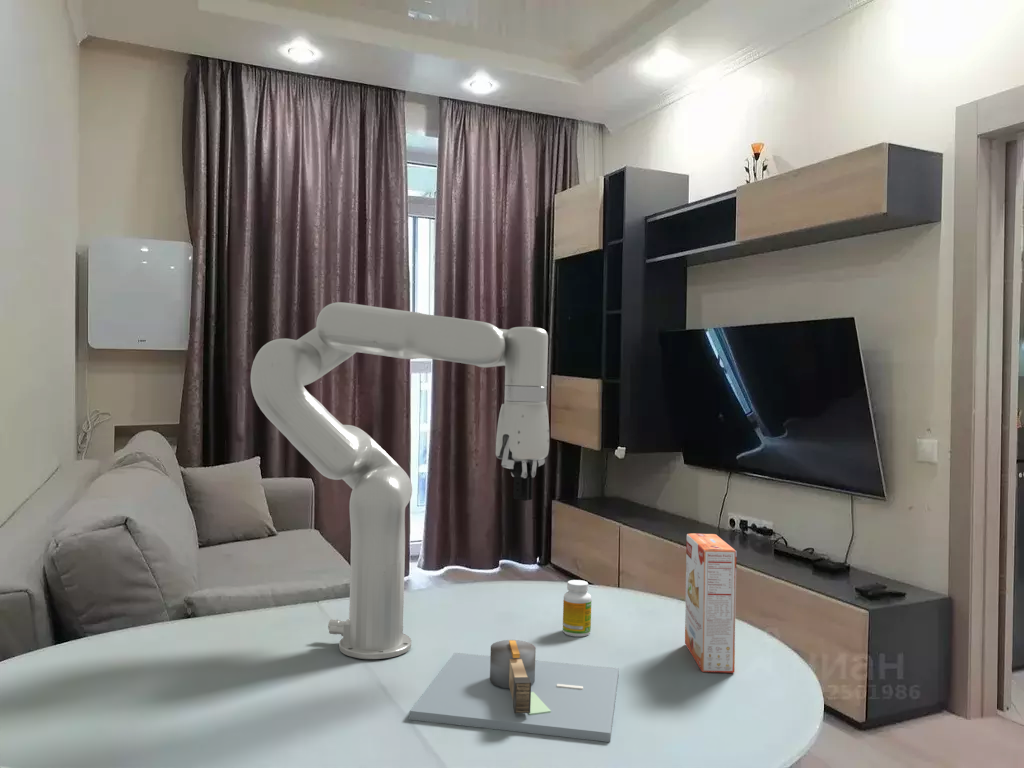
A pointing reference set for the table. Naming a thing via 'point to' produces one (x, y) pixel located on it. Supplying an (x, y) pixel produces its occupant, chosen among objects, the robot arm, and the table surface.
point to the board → (554, 699)
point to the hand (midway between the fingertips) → (522, 499)
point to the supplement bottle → (577, 609)
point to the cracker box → (710, 602)
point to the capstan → (514, 670)
